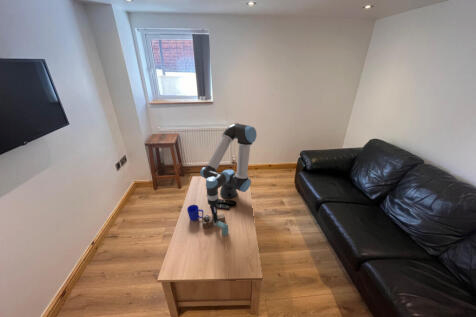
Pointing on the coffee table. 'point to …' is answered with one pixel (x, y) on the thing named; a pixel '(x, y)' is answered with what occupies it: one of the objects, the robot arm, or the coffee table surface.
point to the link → (210, 222)
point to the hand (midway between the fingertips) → (214, 222)
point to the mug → (194, 212)
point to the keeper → (223, 227)
